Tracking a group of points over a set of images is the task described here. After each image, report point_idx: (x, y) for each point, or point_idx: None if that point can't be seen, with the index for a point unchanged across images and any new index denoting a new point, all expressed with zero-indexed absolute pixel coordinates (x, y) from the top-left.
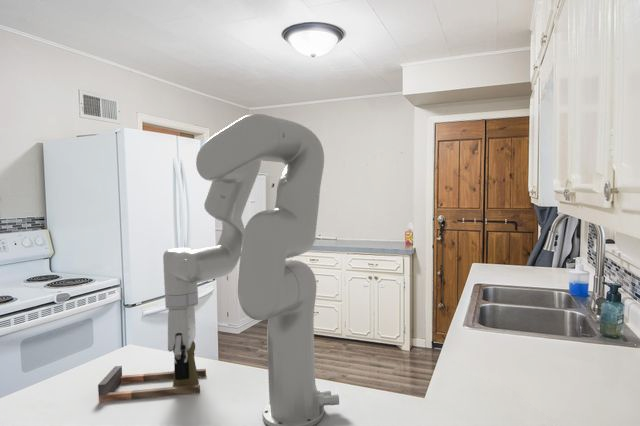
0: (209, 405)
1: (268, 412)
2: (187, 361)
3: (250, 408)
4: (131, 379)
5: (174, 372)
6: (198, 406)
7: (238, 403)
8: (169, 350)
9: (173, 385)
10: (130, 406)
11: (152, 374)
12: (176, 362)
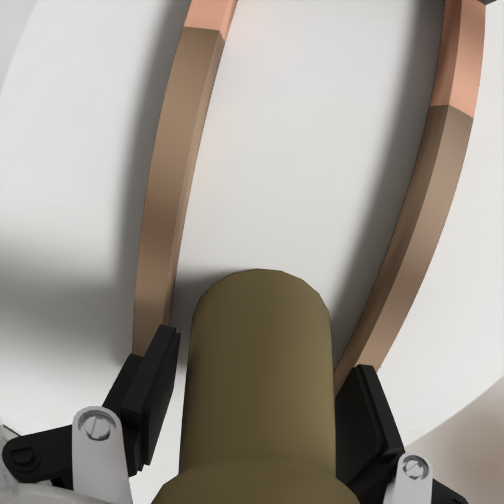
0: (48, 372)
1: (3, 440)
2: (139, 466)
3: (39, 431)
4: (449, 41)
5: (245, 334)
6: (43, 344)
7: (59, 426)
8: (6, 488)
9: (244, 280)
10: (109, 52)
11: (442, 162)
12: (79, 424)
